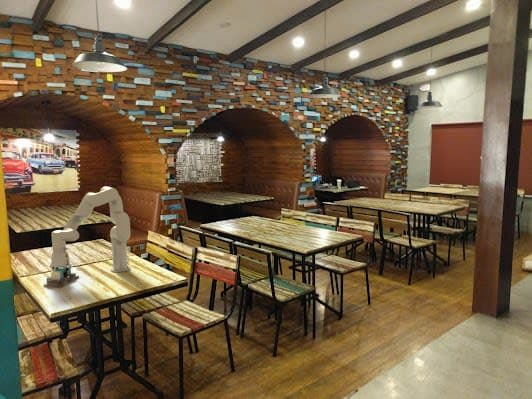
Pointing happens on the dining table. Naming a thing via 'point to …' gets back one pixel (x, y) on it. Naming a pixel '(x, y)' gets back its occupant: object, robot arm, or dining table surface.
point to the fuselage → (59, 274)
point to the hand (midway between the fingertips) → (61, 276)
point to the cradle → (61, 283)
